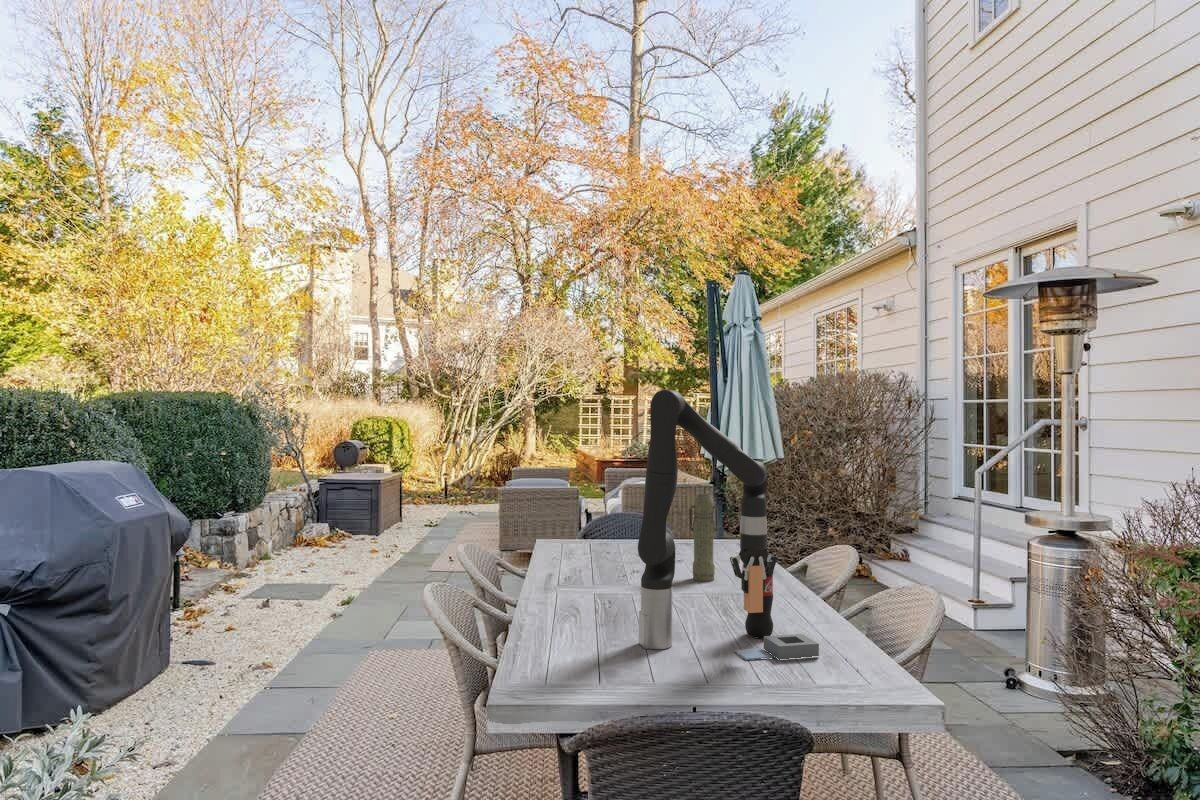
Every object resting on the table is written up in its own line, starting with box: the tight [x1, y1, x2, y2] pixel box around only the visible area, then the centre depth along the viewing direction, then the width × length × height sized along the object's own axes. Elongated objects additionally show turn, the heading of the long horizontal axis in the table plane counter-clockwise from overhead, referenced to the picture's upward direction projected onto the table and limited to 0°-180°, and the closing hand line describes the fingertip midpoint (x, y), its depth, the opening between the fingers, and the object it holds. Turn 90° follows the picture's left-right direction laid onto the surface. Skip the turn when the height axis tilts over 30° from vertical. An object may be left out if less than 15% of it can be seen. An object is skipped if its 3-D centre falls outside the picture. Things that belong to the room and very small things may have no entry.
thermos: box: [688, 493, 719, 583], centre depth 322 cm, size 9×12×35 cm
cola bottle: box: [744, 559, 774, 639], centre depth 242 cm, size 8×8×30 cm
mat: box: [734, 647, 773, 661], centre depth 222 cm, size 8×8×1 cm
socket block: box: [763, 633, 820, 661], centre depth 223 cm, size 12×10×4 cm
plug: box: [743, 565, 763, 613], centre depth 222 cm, size 4×4×13 cm
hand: (753, 592), depth 222 cm, fingers closed on plug, 4 cm apart
